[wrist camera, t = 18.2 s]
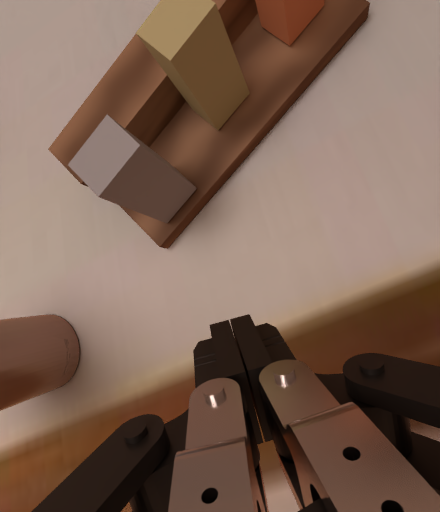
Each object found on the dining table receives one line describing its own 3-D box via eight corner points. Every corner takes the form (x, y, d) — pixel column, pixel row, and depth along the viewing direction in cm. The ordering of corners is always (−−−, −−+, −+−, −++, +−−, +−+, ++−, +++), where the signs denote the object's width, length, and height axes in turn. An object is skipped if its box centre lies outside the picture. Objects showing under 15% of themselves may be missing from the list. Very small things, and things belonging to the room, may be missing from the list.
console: (367, 18, 35) (377, -45, 28) (167, 248, 40) (136, 241, 33) (261, -47, 39) (248, -115, 32) (90, 169, 44) (48, 149, 37)
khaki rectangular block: (249, 93, 36) (215, 3, 24) (218, 130, 36) (170, 60, 25) (222, 72, 37) (178, -23, 25) (192, 109, 37) (135, 33, 26)
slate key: (197, 188, 37) (140, 145, 25) (167, 223, 37) (98, 196, 26) (172, 165, 38) (107, 114, 26) (143, 200, 38) (67, 164, 27)
